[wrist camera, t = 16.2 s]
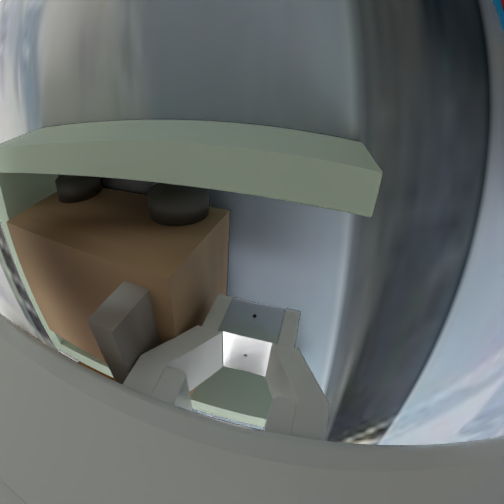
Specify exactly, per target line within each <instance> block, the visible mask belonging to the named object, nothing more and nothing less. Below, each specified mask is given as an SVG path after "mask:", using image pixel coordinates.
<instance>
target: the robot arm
mask: <svg viewBox="0 0 504 504" xmlns="http://www.w3.org/2000/svg"><path fill="white" fill-rule="evenodd" d="M284 312H285V313H284ZM300 314H301V313H300V311H297V310H292V309H285V308H281V307H276V306H271V305H266V304H261V303H256V302H252V301H248V300H244V299H240V298H236V297H230V296H227V295H223V294H219V295H218V296H217V297H216V299H215V301H214V303H213V305H212V307H211V309H210V311H209V313H208V315H207V317H206V319H205V321H204V323H203V324H202V326H198V325H197V326H195V327H193V328H192V329H190V330H188V331H186V332H184V333H182V334H180V335H178V336H177V337H175V338H173V339H171V340H169V341H167V342H165V343H163V344H161V345H159V346H157V347H155V348H153V349H151V350H149V351H148V352H146V353H144V354H142V355H140V357H139V359H138V360H137V362H136V363H135V365H134V367H133V368H132V370H131V371H130V373H129V375H128V376H127V378H126V380H125V381H124V383H123V384H120V383H118V382H116V381H114V380H111V379H109V378H107V377H105V376H103V375H101V374H99V373H97V372H95V371H93V370H91V369H89V368H87V367H85V366H83V365H81V364H79V363H78V362H76V361H74V360H72V359H70V358H68V357H67V356H65V355H63V354H61V353H60V352H58V351H56V350H55V349H53V348H51V347H50V346H48V345H46V344H45V343H43V342H41V341H40V340H38V339H37V338H35V337H34V336H32V335H30V334H29V333H27V332H26V331H24V330H23V329H21V328H20V327H19V326H17V325H16V324H14V323H13V322H11V321H10V320H9V319H7V318H6V317H5V316H3V315H2V314H1V313H0V504H504V436H499V437H494V438H488V439H482V440H475V441H467V442H458V443H448V444H434V445H366V444H351V443H340V442H331V441H325V438H326V430H327V422H328V414H329V402H328V400H327V399H326V397H325V395H324V393H323V391H322V390H321V388H320V386H319V384H318V382H317V381H316V379H315V377H314V375H313V373H312V372H311V370H310V368H309V366H308V364H307V363H306V361H305V359H304V357H303V355H302V354H301V352H300V350H299V349H296V348H295V343H296V337H297V332H298V326H299V320H300ZM222 366H225V367H229V368H234V369H238V370H243V371H246V372H250V373H254V374H258V375H262V376H265V379H266V382H267V384H268V387H269V390H270V393H271V395H272V398H273V400H272V403H271V406H270V410H269V413H268V416H267V419H266V422H265V425H264V428H263V430H259V429H255V428H250V427H246V426H242V425H238V424H234V423H230V422H227V421H223V420H219V419H216V418H212V417H209V416H206V415H202V414H199V413H196V412H193V407H192V402H191V397H190V391H191V390H193V389H194V388H195V387H197V386H198V385H199V384H201V383H202V382H203V381H205V380H206V379H207V378H209V377H210V376H211V375H213V374H214V373H215V372H217V371H218V370H219V369H221V368H222Z"/></svg>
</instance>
